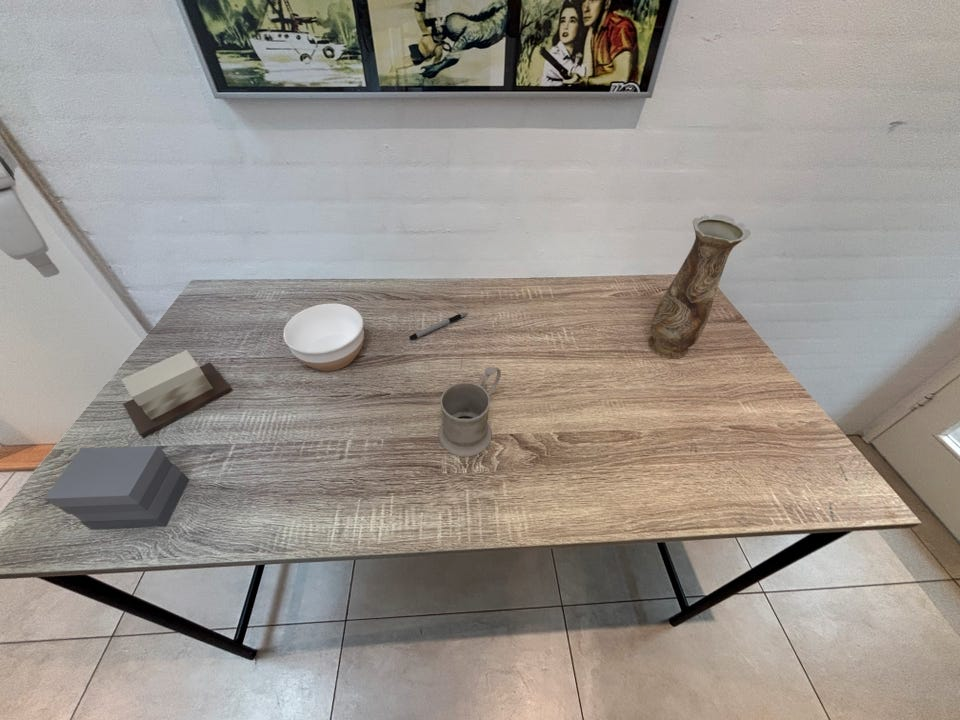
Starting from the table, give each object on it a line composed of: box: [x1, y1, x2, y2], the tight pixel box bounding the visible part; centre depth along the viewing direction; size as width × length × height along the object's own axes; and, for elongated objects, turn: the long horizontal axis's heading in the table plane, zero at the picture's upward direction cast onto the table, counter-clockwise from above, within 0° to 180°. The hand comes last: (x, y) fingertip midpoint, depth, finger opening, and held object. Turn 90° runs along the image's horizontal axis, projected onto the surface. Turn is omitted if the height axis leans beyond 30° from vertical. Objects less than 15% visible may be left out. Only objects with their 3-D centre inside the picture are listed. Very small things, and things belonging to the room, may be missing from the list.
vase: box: [647, 214, 751, 360], centre depth 85 cm, size 10×11×30 cm
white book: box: [121, 349, 204, 406], centre depth 76 cm, size 11×6×2 cm, turn 136°
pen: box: [409, 311, 468, 341], centre depth 97 cm, size 1×16×1 cm, turn 128°
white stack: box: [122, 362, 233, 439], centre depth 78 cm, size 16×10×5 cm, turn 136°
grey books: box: [43, 445, 190, 531], centre depth 62 cm, size 11×8×10 cm
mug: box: [438, 366, 502, 458], centre depth 73 cm, size 14×10×12 cm
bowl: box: [282, 302, 365, 372], centre depth 88 cm, size 16×16×8 cm
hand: (44, 260), depth 58 cm, fingers open, 8 cm apart
